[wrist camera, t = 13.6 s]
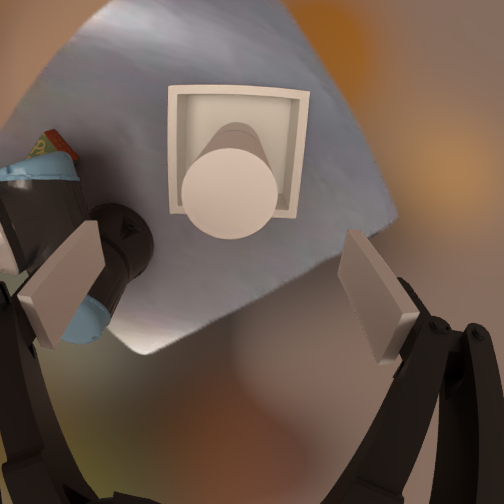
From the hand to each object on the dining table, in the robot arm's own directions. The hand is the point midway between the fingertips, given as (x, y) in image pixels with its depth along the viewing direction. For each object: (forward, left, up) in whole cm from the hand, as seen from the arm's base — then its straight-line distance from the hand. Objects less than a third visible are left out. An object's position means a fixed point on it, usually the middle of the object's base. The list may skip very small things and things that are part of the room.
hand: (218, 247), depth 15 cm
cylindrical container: (0, 0, -33) cm, 33 cm away
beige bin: (0, 0, -34) cm, 34 cm away
